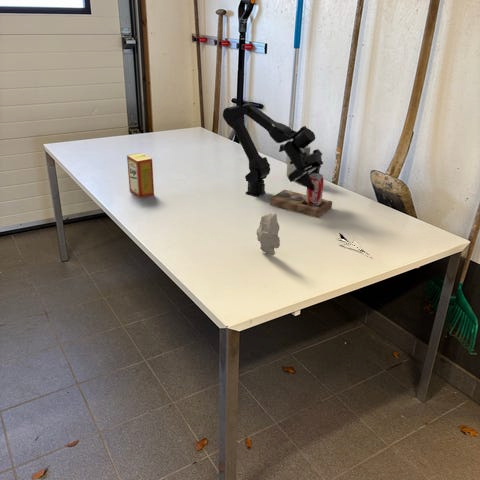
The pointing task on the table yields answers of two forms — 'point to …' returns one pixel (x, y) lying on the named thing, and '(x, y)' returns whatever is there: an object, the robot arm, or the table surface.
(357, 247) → the toy airplane
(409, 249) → the table surface
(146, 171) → the baking soda box
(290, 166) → the hip flask
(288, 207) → the wooden tray
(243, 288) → the table surface
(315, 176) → the soda can
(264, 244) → the grey figurine
